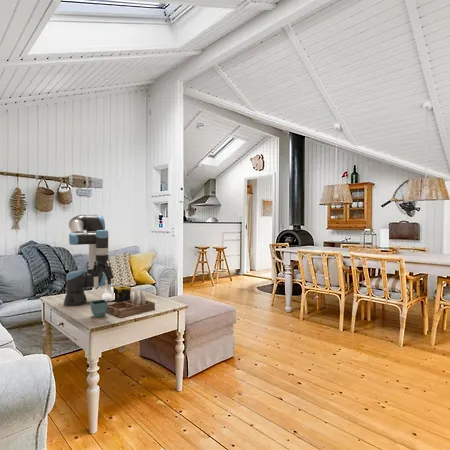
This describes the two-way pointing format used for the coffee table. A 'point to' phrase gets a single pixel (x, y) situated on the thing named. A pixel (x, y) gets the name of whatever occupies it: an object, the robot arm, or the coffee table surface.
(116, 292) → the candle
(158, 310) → the coffee table surface
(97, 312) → the flower pot
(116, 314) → the tray
